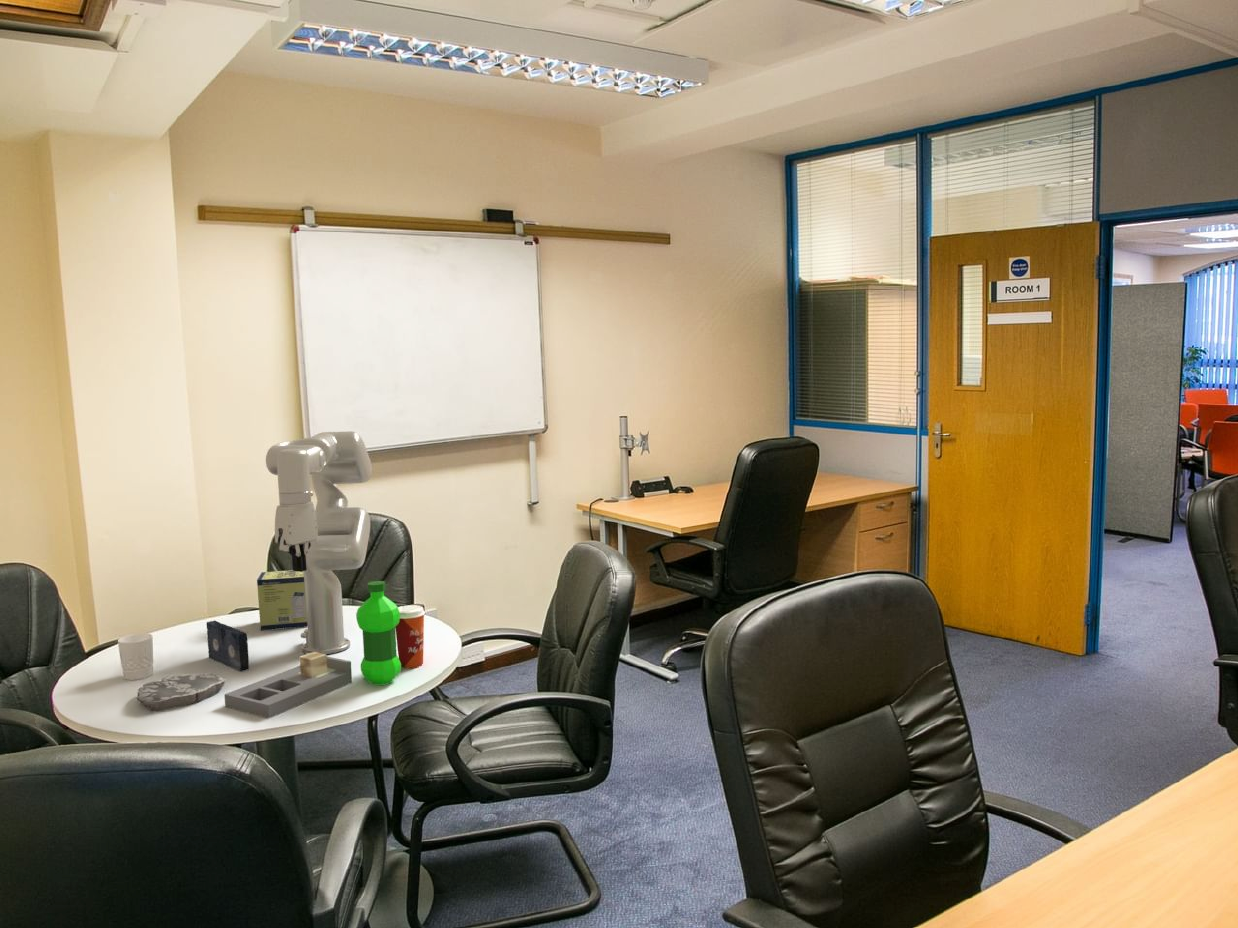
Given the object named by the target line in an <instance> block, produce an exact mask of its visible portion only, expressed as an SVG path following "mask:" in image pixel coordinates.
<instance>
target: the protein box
mask: <svg viewBox="0 0 1238 928" xmlns="http://www.w3.org/2000/svg"><path fill="white" fill-rule="evenodd" d="M256 586H257V596H258V597H257V598H258V600H257V601H258V610H259V611H258V612H259V625H260V626H259V627H260V628H259V629H260V631H269V630H270V631H271V630H272V629H273V630H281V629H282V630H283V628H284V629H295V627H296V628H304V626H307V612H306V596H305V582H304V575H303V571H302V572H298V571H293V569H292V570H291V569H290V570H278V571H276V570H275V571H263V572H261V573H260V574H259V576H258V578H257V580H256Z"/></svg>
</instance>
